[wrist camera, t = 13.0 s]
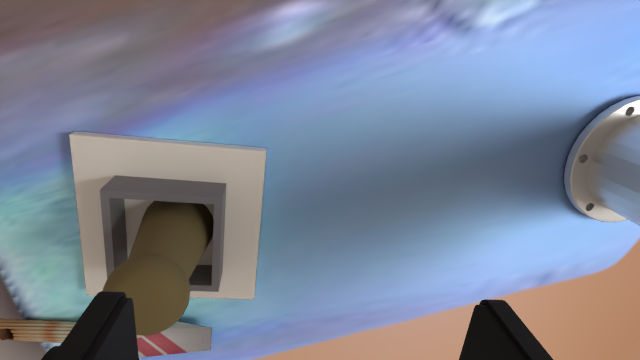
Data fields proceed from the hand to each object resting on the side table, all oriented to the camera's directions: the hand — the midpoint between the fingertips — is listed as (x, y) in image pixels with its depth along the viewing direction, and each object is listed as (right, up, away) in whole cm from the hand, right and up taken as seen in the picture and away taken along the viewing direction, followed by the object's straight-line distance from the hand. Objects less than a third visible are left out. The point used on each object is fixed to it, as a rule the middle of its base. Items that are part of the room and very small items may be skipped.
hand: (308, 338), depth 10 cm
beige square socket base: (-13, +1, +24) cm, 27 cm away
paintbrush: (-20, -10, +27) cm, 35 cm away
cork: (-12, 0, +23) cm, 26 cm away
